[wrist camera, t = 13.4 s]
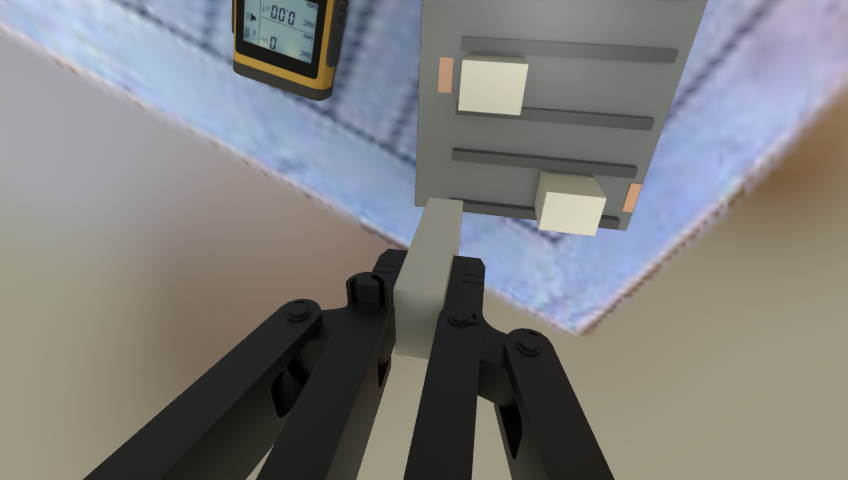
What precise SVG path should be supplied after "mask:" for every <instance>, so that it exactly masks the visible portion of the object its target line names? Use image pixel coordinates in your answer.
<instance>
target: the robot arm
mask: <svg viewBox="0 0 848 480" xmlns="http://www.w3.org/2000/svg"><path fill="white" fill-rule="evenodd" d="M462 210H463V201H461V200H450V199H440V198H430V197H429V199H428V202H427V205H426V207H425V210H424V212H423V215H422V217H421V220H420V222H419V225H418V228H417V230H416V233H415V235H414V238H413V240H412V243H411V245H410V248H409V251H404V250H395V249H388V250H386V252H384V253H382V254H381V255H380V256H379V258H378V261H377V262H376V265H375V267H374V268H373V271H372V272H363V273H358V274H356V275H354V276H352V277H350V278H349V279H348V280H347V281H346V288H347V297H348V304H347V306H346V307H343V308H339V309H331V310H321V308H320V306H319V305H318V303H316V302H314V301H312V300H308V299H298V300H294V301H291V302H288V303H286V304H285V305H283V306H282V307H280V308H279V309H278V310H277V311H276V312H275V313H273V314H272V315H271V316H270V317H269V318H268V319H267V320H265V321H264V322H263V323H262V324H261V325H260V326H259V327H257V328H256V329H255V330H254V331H253V332H252V333H250V334H249V335H248V336H247V337H246V338H245V339H244V340H242V341H241V342H240V343H239V344H238V345H237V346H236V347H234V348H233V349H232V350H231V351H230V352H229V353H228V354H226V355H225V356H224V357H223V358H222V359H221V360H219V361H218V362H217V363H216V364H215V365H214V366H213V367H212V368H210V369H209V370H208V371H207V372H206V373H205V374H203V375H202V376H201V377H200V378H199V379H198V380H197V381H195V382H194V383H193V384H192V385H191V386H190V387H189V388H187V389H186V390H185V391H184V392H183V393H182V394H180V395H179V396H178V397H177V398H176V399H175V400H174V401H172V402H171V403H170V404H169V405H168V406H167V407H166V408H165V409H164V410H162V411H161V412H160V413H159V414H158V415H156V416H155V417H154V418H153V419H152V420H151V421H150V422H148V423H147V424H146V425H145V426H144V427H143V428H142V429H140V430H139V431H138V432H137V433H136V434H135V435H133V436H132V437H131V438H130V439H129V440H128V441H127V442H125V443H124V444H123V445H122V446H121V447H120V448H118V449H117V450H116V451H115V452H114V453H113V454H112V455H111V456H109V457H108V458H107V459H106V460H105V461H104V462H102V463H101V464H100V465H99V466H98V467H97V468H96V469H94V470H93V471H92V472H91V473H90V474H89V475H88V476H86V477H85V478H84V479H83V480H246V479H247V477H248V476H249V475H250V474H251V472H252V471H253V470H254V469H255V467H256V466H257V465H258V464H259V462H260V461H261V460H262V459H263V457H264V456H265V455H266V454H267V452H268V451H269V450H270V449H271V447H272V446H273V445H274V446H273V448H272V450H271V451H270V454H269V456H268V457H267V459H266V461H265V463H264V465H263V467H262V469H261V471H260V473H259V474H258V476H257V478H256V480H356V479H357V475H358V472H359V469H360V465H361V462H362V459H363V456H364V453H365V449H366V446H367V443H368V440H369V436H370V433H371V430H372V427H373V423H374V420H375V417H376V414H377V410H378V407H379V404H380V401H381V398H382V394H383V391H384V388H385V384H386V381H387V378H388V375H389V372H390V368H391V354H392V350H393V347H394V344H395V354H397V355H404V356H410V357H417V358H424V359H429V362H428V367H427V372H426V376H425V381H424V386H423V390H422V395H421V400H420V404H419V409H418V414H417V418H416V423H415V427H414V432H413V437H412V442H411V446H410V451H409V455H408V461H407V465H406V469H405V474H404V479H403V480H471V479H472V464H473V449H474V436H475V421H476V407H477V395H479V396H481V397H483V398H485V399H487V400H489V401H491V402H493V403H494V408H495V412H496V416H497V420H498V424H499V428H500V432H501V437H502V440H503V444H504V449H505V453H506V456H507V461H508V465H509V469H510V473H511V477H512V480H615V479H614V478H613V475H612V473H611V471H610V469H609V467H608V464H607V462H606V460H605V458H604V456H603V454H602V451H601V449H600V447H599V445H598V443H597V441H596V439H595V436H594V434H593V432H592V430H591V428H590V426H589V424H588V421H587V419H586V417H585V415H584V413H583V410H582V408H581V406H580V404H579V402H578V399H577V397H576V395H575V393H574V391H573V389H572V386H571V384H570V382H569V380H568V378H567V376H566V373H565V371H564V369H563V367H562V365H561V363H560V361H559V358H558V356H557V354H556V352H555V350H554V347H553V345H552V344H551V342H550V341H549V340H548V338H547V337H545V336H544V335H542V334H541V333H540V332H537V331H534V330H532V329H524V328H521V329H516V330H513V331H511V332H510V333H508V334H505V333H503V332H500V331H498V330H496V329H494V328H493V327H491V326H490V325H489V324H488V323H487V322H486V321H485V319H484V317H483V313H482V307H483V293H484V279H485V266H484V264H483V262H482V261H481V259H480V258H472V257H463V256H458V255H459V245H460V233H461V222H462Z"/></svg>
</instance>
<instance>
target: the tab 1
mask: <svg viewBox="0 0 848 480" xmlns="http://www.w3.org/2000/svg"><path fill="white" fill-rule="evenodd" d="M528 65H529V64H528V63H527V61H526V59H525V58H519V57H504V56H488V55H473V54H468V55H467V56H466V57H465V58H464V59H463V60H462V72H461V83H460V95H459V106H458V110H462V111H474V112H486V113H498V114H510V115H520V113H521V107H522V101H523V95H524V89H525V83H526V77H527V71H528Z"/></svg>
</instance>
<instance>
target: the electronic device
mask: <svg viewBox="0 0 848 480" xmlns="http://www.w3.org/2000/svg"><path fill="white" fill-rule="evenodd" d="M347 5H348V1H347V0H232V32H233V34H234V59H233V70H234V71H235V72H236V73H237V74H239V75H242V76H245V77H247V78H250V79H253V80H256V81H259V82H262V83H265V84H268V85H271V86H273V87H276V88H279V89H282V90H285V91H288V92H291V93H294V94H297V95H299V96H302V97H305V98H308V99H312V100H317V101H321V100H324V99H326V98H328V97H330V96H331V90H332V82H333V75H334V69H335V66H337V63H338V57H339V51H340V45H341V38H342V32H343V27H344V26H345V23H344V19H345V16H346V14H347V13H346V6H347Z"/></svg>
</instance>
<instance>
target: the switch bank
mask: <svg viewBox="0 0 848 480" xmlns="http://www.w3.org/2000/svg"><path fill="white" fill-rule="evenodd" d="M707 2H708V0H422V18H421V46H420V74H419V102H418V129H417V157H416V185H415V206H418V207H426V205H427V202H428V199H429V197H430V198H440V199H450V200H461V201H463V210H462V212H470V213H478V214H487V215H495V216H504V217H513V218H521V219H530V220H537V217H536V211H535V206H534V203H535V198H536V194H537V189H538V184H539V179H540V174H541V170H544V171H554V172H564V173H574V174H584V175H593V176H594V177H595V179H596V181H597V182H598V184H599V186H600V188H601V189H602V191H603V193H604V195H605V196H606V198H607V199H606V202H605V205H604V208H603V212H602V215H601V218H600V221H599V225H598V228H607V229H615V230H624V231H626V230H627V227H628V224H629V221H630V219H631V216H632V213H633V210H634V207H635V204H636V202H637V199H638V196H639V193H640V190H641V188H642V185H643V182H644V179H645V176H646V173H647V171H648V168H649V165H650V162H651V159H652V157H653V154H654V151H655V148H656V145H657V142H658V140H659V137H660V134H661V131H662V128H663V126H664V123H665V120H666V117H667V114H668V111H669V109H670V106H671V103H672V100H673V97H674V95H675V92H676V89H677V86H678V83H679V80H680V78H681V75H682V72H683V69H684V66H685V64H686V61H687V58H688V55H689V52H690V49H691V47H692V44H693V41H694V38H695V35H696V33H697V30H698V27H699V24H700V21H701V18H702V16H703V13H704V10H705V7H706V4H707ZM468 54H473V55H488V56H504V57H519V58H525V59H526V61H527V63H528V64H529V65H528V71H527V77H526V83H525V89H524V95H523V101H522V107H521V113H520V115H510V114H498V113H486V112H474V111H462V110H458V106H459V95H460V83H461V72H462V60H463V59H464V58H465V57H466V56H467V55H468Z"/></svg>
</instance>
